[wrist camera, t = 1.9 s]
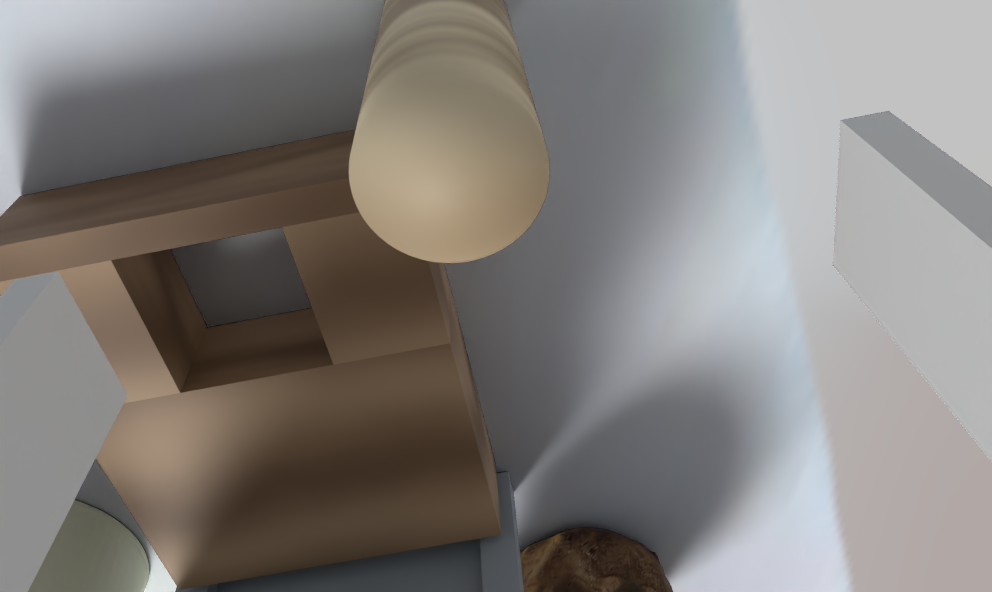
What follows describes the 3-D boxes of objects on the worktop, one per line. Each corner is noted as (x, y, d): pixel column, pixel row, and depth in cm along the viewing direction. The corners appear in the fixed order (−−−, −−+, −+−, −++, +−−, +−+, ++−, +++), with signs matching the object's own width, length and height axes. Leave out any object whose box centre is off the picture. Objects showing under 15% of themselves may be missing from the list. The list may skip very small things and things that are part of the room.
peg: (368, -32, 25) (322, 100, 15) (494, -58, 25) (532, 59, 15) (400, 91, 27) (378, 278, 17) (516, 68, 27) (562, 243, 17)
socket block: (20, 196, 29) (-36, 253, 25) (407, 119, 28) (403, 167, 25) (202, 517, 38) (179, 590, 34) (495, 465, 37) (501, 534, 34)
